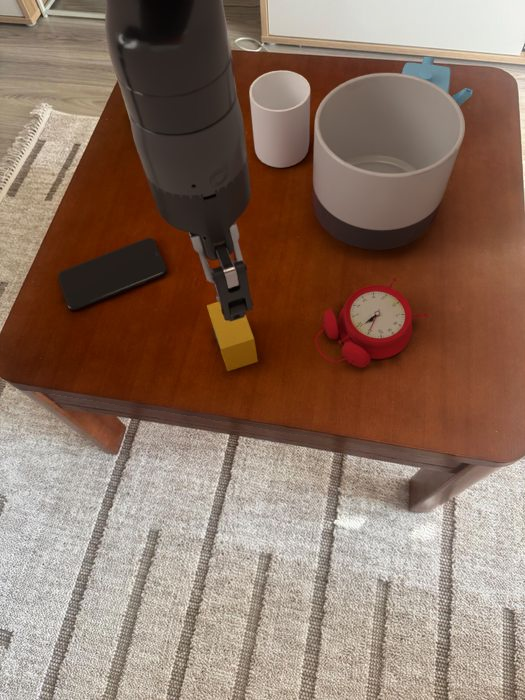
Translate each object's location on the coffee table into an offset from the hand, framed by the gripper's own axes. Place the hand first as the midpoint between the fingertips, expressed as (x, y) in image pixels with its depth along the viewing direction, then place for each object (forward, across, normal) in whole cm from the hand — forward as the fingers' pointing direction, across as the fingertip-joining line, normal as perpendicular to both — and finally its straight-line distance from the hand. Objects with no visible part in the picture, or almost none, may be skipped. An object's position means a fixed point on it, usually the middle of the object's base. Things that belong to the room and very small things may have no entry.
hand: (222, 280), depth 52 cm
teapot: (+24, -35, +44) cm, 60 cm away
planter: (+24, -20, +28) cm, 42 cm away
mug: (+24, -40, +20) cm, 50 cm away
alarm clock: (+24, 0, +18) cm, 30 cm away
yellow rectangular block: (+24, -5, 0) cm, 24 cm away
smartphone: (+24, -23, -14) cm, 36 cm away
